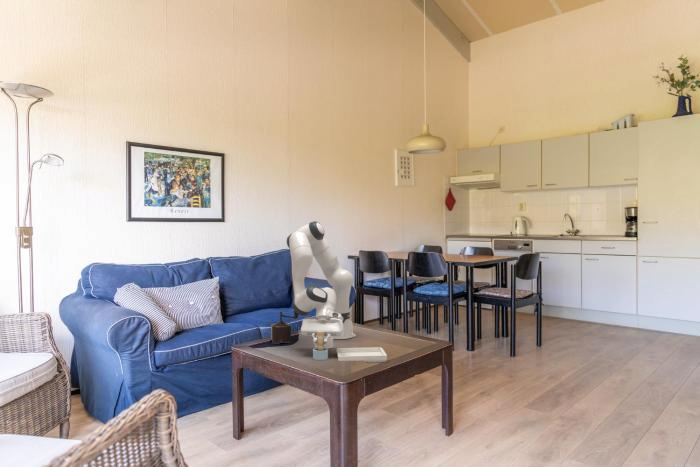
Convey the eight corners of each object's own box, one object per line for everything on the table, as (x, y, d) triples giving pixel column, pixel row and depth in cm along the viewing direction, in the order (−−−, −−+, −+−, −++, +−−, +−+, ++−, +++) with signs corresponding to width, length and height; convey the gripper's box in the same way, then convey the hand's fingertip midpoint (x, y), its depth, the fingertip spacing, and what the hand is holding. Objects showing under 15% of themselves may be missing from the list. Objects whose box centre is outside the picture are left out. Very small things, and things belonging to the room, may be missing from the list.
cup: (312, 358, 214) (312, 347, 214) (327, 358, 215) (327, 347, 215) (313, 362, 208) (313, 351, 208) (328, 362, 208) (328, 350, 208)
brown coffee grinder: (271, 345, 242) (271, 310, 243) (270, 340, 253) (270, 307, 253) (301, 343, 246) (301, 309, 246) (298, 339, 257) (298, 306, 257)
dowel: (316, 357, 213) (316, 331, 213) (323, 357, 213) (323, 331, 213) (317, 359, 210) (317, 332, 210) (324, 358, 210) (324, 332, 210)
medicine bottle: (324, 347, 237) (324, 323, 238) (333, 349, 232) (333, 325, 232) (313, 349, 232) (313, 325, 233) (322, 351, 227) (322, 327, 227)
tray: (336, 354, 222) (336, 348, 222) (381, 353, 224) (381, 347, 224) (338, 363, 206) (338, 356, 206) (387, 362, 208) (387, 355, 208)
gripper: (302, 313, 220) (296, 338, 210) (344, 314, 217) (340, 339, 207) (304, 321, 224) (299, 345, 214) (345, 322, 221) (342, 347, 211)
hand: (320, 342), depth 211 cm, fingers open, 3 cm apart
